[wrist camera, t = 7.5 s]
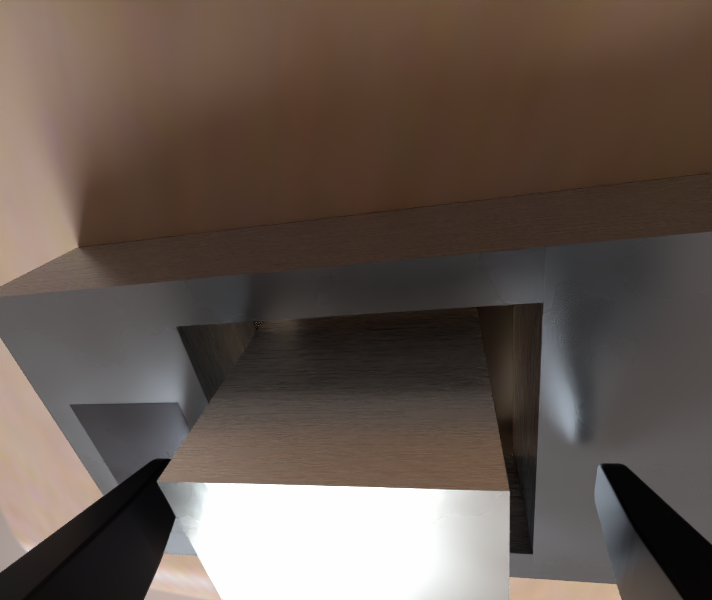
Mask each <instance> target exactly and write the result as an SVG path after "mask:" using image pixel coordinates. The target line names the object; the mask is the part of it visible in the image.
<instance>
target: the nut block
mask: <svg viewBox="0 0 712 600" xmlns="http://www.w3.org/2000/svg"><path fill="white" fill-rule="evenodd" d="M157 483H158V485H159V487H160V489H161V490H162V492H163V494H164V496H165V498H166V499H167V501H168V503H169V505H170V507H171V508H172V510H173V512H174V514H175V516H176V517H177V519H178V521H179V523H180V525H181V526H182V528H183V530H184V532H185V534H186V535H187V537H188V539H189V541H190V543H191V544H192V546H193V548H194V550H195V552H196V553H197V555H198V557H199V559H200V561H201V562H202V564H203V566H204V568H205V570H206V571H207V573H208V575H209V577H210V579H211V580H212V582H213V584H214V586H215V588H216V589H217V591H218V593H219V595H220V597H221V598H222V600H509V541H510V490H509V485H508V479H507V473H506V468H505V462H504V457H503V451H502V446H501V440H500V435H499V429H498V424H497V418H496V413H495V407H494V402H493V396H492V391H491V385H490V380H489V374H488V369H487V363H486V357H485V352H484V346H483V341H482V335H481V330H480V324H479V319H478V313H477V308H476V307H466V308H451V309H435V310H420V311H405V312H389V313H374V314H359V315H343V316H328V317H313V318H297V319H282V320H267V321H263V323H262V324H261V326H260V327H259V329H258V330H257V332H256V333H255V335H254V336H253V338H252V339H251V341H250V342H249V344H248V345H247V347H246V348H245V350H244V351H243V353H242V354H241V356H240V357H239V359H238V360H237V362H236V363H235V365H234V366H233V368H232V369H231V371H230V372H229V374H228V375H227V377H226V378H225V380H224V381H223V383H222V384H221V386H220V387H219V389H218V390H217V392H216V393H215V395H214V396H213V398H212V399H211V401H210V402H209V404H208V405H207V407H206V408H205V410H204V411H203V413H202V414H201V416H200V417H199V419H198V420H197V422H196V423H195V425H194V426H193V428H192V429H191V431H190V432H189V434H188V435H187V437H186V438H185V440H184V441H183V443H182V444H181V446H180V447H179V449H178V450H177V452H176V453H175V455H174V456H173V458H172V459H171V461H170V462H169V464H168V465H167V467H166V468H165V470H164V471H163V473H162V474H161V476H160V477H159V479H158V480H157Z"/></svg>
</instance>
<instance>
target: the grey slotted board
mask: <svg viewBox="0 0 712 600" xmlns="http://www.w3.org/2000/svg"><path fill="white" fill-rule="evenodd" d="M512 304H513V456H503V457H504V462H505V468H506V473H507V479H508V485H509V490H510V541H509V577H520V578H534V579H549V580H564V581H579V582H594V583H609V584H617V583H616V579H615V575H614V572H613V568H612V564H611V560H610V557H609V553H608V549H607V546H606V542H605V538H604V534H603V531H602V527H601V523H600V519H599V516H598V512H597V508H596V504H595V497H594V491H595V483H596V476H597V469H598V466H599V465H600V464H602V463H620V464H624V465H625V466H627V467H628V468H629V469H630V470H632V471H633V472H634V473H635V474H636V475H637V476H638V477H639V478H640V479H641V480H642V481H643V482H645V483H646V484H647V485H648V486H649V487H650V488H651V489H652V490H653V491H654V492H655V493H656V494H658V495H659V496H660V497H661V498H662V499H663V500H664V501H665V502H666V503H667V504H668V505H670V506H671V507H672V508H673V509H674V510H675V511H676V512H677V513H678V514H679V515H680V516H681V517H683V518H684V519H685V520H686V521H687V522H688V523H689V524H690V525H691V526H692V527H693V528H694V529H696V530H697V531H698V532H699V533H700V534H701V535H702V536H703V537H704V538H705V539H706V540H707V541H709V542H710V543H711V544H712V173H709V174H700V175H692V176H683V177H675V178H666V179H658V180H649V181H641V182H632V183H624V184H615V185H607V186H598V187H590V188H581V189H573V190H564V191H556V192H547V193H539V194H530V195H522V196H513V197H505V198H496V199H488V200H479V201H471V202H462V203H454V204H445V205H437V206H428V207H420V208H411V209H403V210H395V211H386V212H378V213H369V214H361V215H352V216H344V217H335V218H327V219H318V220H310V221H301V222H293V223H284V224H276V225H267V226H259V227H250V228H242V229H233V230H225V231H216V232H208V233H199V234H191V235H182V236H174V237H165V238H157V239H148V240H140V241H131V242H123V243H114V244H106V245H97V246H89V247H80V248H76V249H74V250H72V251H70V252H68V253H66V254H64V255H62V256H60V257H58V258H56V259H54V260H52V261H50V262H48V263H46V264H44V265H42V266H40V267H38V268H36V269H34V270H32V271H30V272H28V273H26V274H24V275H22V276H20V277H18V278H16V279H14V280H12V281H10V282H8V283H6V284H4V285H2V286H0V338H1V339H2V341H3V342H4V344H5V345H6V347H7V348H8V350H9V351H10V353H11V354H12V356H13V358H14V359H15V361H16V362H17V364H18V365H19V367H20V368H21V370H22V371H23V373H24V374H25V376H26V377H27V379H28V381H29V382H30V384H31V385H32V387H33V388H34V390H35V391H36V393H37V394H38V396H39V397H40V399H41V400H42V402H43V404H44V405H45V407H46V408H47V410H48V411H49V413H50V414H51V416H52V417H53V419H54V420H55V422H56V423H57V425H58V427H59V428H60V430H61V431H62V433H63V434H64V436H65V437H66V439H67V440H68V442H69V443H70V445H71V446H72V448H73V450H74V451H75V453H76V454H77V456H78V457H79V459H80V460H81V462H82V463H83V465H84V466H85V468H86V469H87V471H88V473H89V474H90V476H91V477H92V479H93V480H94V482H95V483H96V485H97V486H98V488H99V489H100V491H101V492H102V494H103V496H104V495H106V494H107V493H108V492H110V491H111V490H112V489H114V488H115V487H116V486H118V485H119V484H120V483H122V482H123V481H125V480H126V479H127V478H129V477H130V476H131V475H133V474H134V473H135V472H137V471H138V470H139V469H141V468H142V467H143V466H145V465H146V464H147V463H149V462H150V461H152V460H154V459H157V458H169V459H172V458H173V456H174V455H175V453H176V452H177V450H178V449H179V447H180V446H181V444H182V443H183V441H184V440H185V438H186V437H187V435H188V434H189V432H190V431H191V429H192V428H193V426H194V425H195V423H196V422H197V420H198V419H199V417H200V416H201V414H202V413H203V411H204V410H205V408H206V407H207V405H208V404H209V402H210V401H211V399H212V398H213V396H214V395H215V393H216V392H217V390H218V389H219V387H220V386H221V384H222V383H223V381H224V380H225V378H226V377H227V375H228V374H229V372H230V371H231V369H232V368H233V366H234V365H235V363H236V362H237V360H238V359H239V357H240V356H241V354H242V353H243V351H244V350H245V348H246V347H247V345H248V344H249V342H250V341H251V339H252V338H253V336H254V335H255V333H256V329H255V326H254V323H253V321H267V320H282V319H297V318H313V317H328V316H343V315H359V314H374V313H389V312H405V311H420V310H435V309H451V308H466V307H481V306H497V305H512ZM164 554H178V555H193V556H198V555H197V553H196V552H195V550H194V548H193V546H192V544H191V543H190V541H189V539H188V537H187V535H186V534H185V532H184V530H183V528H182V526H181V525H180V523H179V521H178V519H177V517H176V519H175V522H174V525H173V528H172V531H171V534H170V537H169V539H168V542H167V545H166V548H165V551H164Z"/></svg>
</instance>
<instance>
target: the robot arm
mask: <svg viewBox="0 0 712 600" xmlns="http://www.w3.org/2000/svg"><path fill="white" fill-rule="evenodd" d="M170 461H171V459H169V458H157V459H154V460H152V461H150V462H149V463H147V464H146V465H145V466H143V467H142V468H141V469H139V470H138V471H137V472H135V473H134V474H133V475H131V476H130V477H129V478H127V479H126V480H125V481H123V482H122V483H120V484H119V485H118V486H116V487H115V488H114V489H112V490H111V491H110V492H108V493H107V494H106V495H104V496H103V497H102V498H100V499H99V500H98V501H96V502H95V503H94V504H92V505H91V506H89V507H88V508H87V509H85V510H84V511H83V512H81V513H80V514H79V515H77V516H76V517H75V518H73V519H72V520H71V521H69V522H68V523H67V524H65V525H64V526H63V527H61V528H60V529H58V530H57V531H56V532H54V533H53V534H52V535H50V536H49V537H48V538H46V539H45V540H44V541H42V542H41V543H40V544H38V545H37V546H36V547H34V548H33V549H31V550H30V551H29V552H27V553H26V554H25V555H24V556H22V557H21V558H19V559H18V560H17V561H16V562H14V563H13V564H11V565H10V566H9V567H7V568H6V569H5V570H3V571H2V572H0V600H144V598H145V596H146V594H147V592H148V589H149V587H150V585H151V583H152V580H153V578H154V576H155V574H156V571H157V569H158V566H159V564H160V562H161V559H162V556H163V554H164V551H165V548H166V545H167V542H168V539H169V537H170V534H171V531H172V528H173V525H174V522H175V519H176V516H175V514H174V512H173V510H172V508H171V507H170V505H169V503H168V501H167V499H166V498H165V496H164V494H163V492H162V490H161V489H160V487H159V485H158V483H157V480H158V479H159V477H160V476H161V474H162V473H163V471H164V470H165V468H166V467H167V465H168V464H169V462H170ZM594 497H595V504H596V508H597V512H598V516H599V519H600V523H601V527H602V531H603V534H604V538H605V542H606V546H607V549H608V553H609V557H610V560H611V564H612V568H613V572H614V575H615V579H616V583H617V586H618V590H619V593H620V596H621V599H622V600H712V544H711V543H710V542H709V541H707V540H706V539H705V538H704V537H703V536H702V535H701V534H700V533H699V532H698V531H697V530H696V529H694V528H693V527H692V526H691V525H690V524H689V523H688V522H687V521H686V520H685V519H684V518H683V517H681V516H680V515H679V514H678V513H677V512H676V511H675V510H674V509H673V508H672V507H671V506H670V505H668V504H667V503H666V502H665V501H664V500H663V499H662V498H661V497H660V496H659V495H658V494H656V493H655V492H654V491H653V490H652V489H651V488H650V487H649V486H648V485H647V484H646V483H645V482H643V481H642V480H641V479H640V478H639V477H638V476H637V475H636V474H635V473H634V472H633V471H632V470H630V469H629V468H628V467H627V466H625V465H624V464H620V463H602V464H600V465H599V466H598V469H597V476H596V483H595V491H594Z"/></svg>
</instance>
